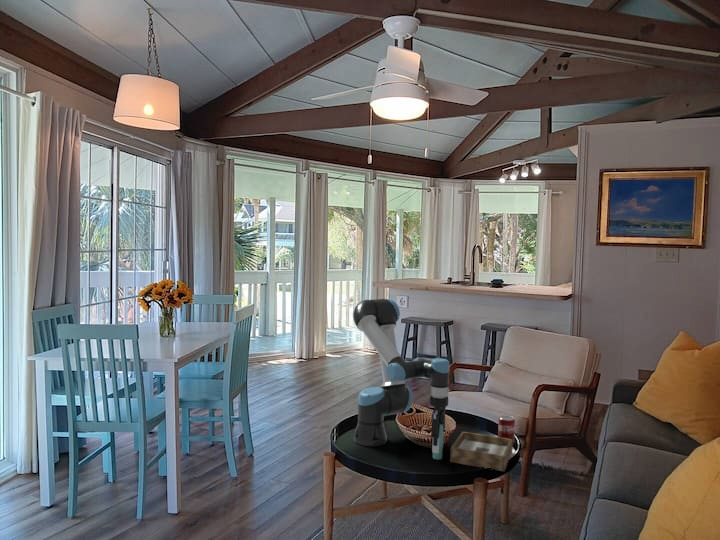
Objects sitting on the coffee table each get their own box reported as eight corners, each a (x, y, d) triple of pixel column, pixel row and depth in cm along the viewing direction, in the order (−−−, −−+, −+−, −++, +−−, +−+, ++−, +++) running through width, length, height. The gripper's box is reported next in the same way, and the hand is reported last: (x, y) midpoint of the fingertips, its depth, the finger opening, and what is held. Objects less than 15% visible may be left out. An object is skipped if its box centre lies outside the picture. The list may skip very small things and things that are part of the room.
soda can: (514, 447, 250) (515, 421, 249) (498, 445, 251) (499, 419, 250) (513, 441, 257) (514, 416, 256) (497, 440, 258) (498, 414, 258)
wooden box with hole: (450, 461, 231) (450, 447, 231) (461, 444, 252) (462, 431, 251) (504, 471, 223) (504, 456, 223) (511, 452, 243) (512, 439, 243)
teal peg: (431, 458, 234) (432, 425, 234) (434, 455, 238) (435, 423, 237) (440, 460, 233) (441, 427, 232) (443, 456, 237) (444, 424, 236)
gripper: (442, 402, 224) (440, 459, 225) (453, 391, 241) (451, 443, 243) (424, 400, 227) (422, 456, 228) (436, 389, 244) (434, 441, 246)
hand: (437, 449), depth 235 cm, fingers open, 6 cm apart
